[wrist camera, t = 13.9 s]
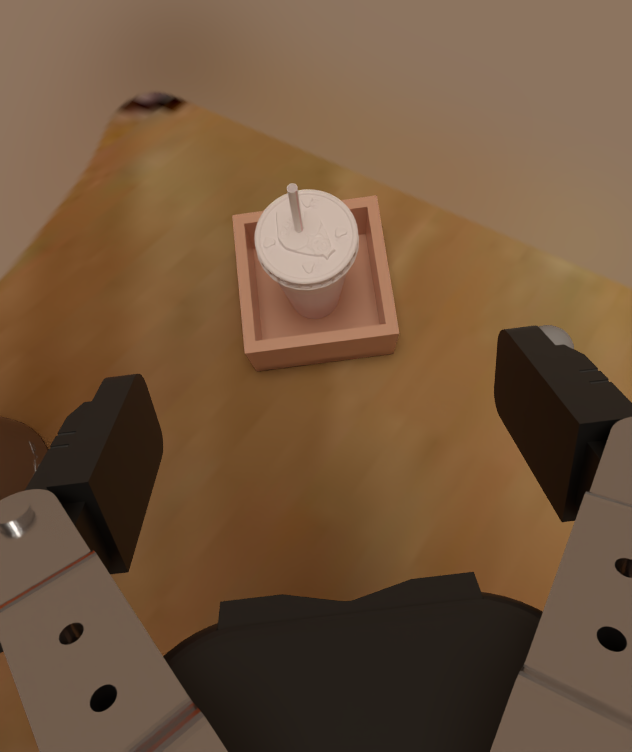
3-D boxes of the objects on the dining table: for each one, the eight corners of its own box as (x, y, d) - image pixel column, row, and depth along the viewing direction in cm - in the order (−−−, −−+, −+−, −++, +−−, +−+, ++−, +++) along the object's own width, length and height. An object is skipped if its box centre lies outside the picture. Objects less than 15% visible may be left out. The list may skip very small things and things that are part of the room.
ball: (518, 383, 40) (535, 371, 37) (509, 337, 41) (523, 321, 38) (567, 376, 40) (588, 364, 37) (556, 331, 41) (575, 315, 38)
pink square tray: (256, 371, 42) (244, 353, 37) (245, 247, 44) (232, 215, 39) (393, 353, 42) (399, 333, 37) (373, 229, 44) (376, 195, 39)
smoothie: (310, 243, 43) (294, 120, 29) (373, 291, 42) (386, 185, 28) (256, 301, 42) (214, 202, 28) (319, 352, 41) (306, 273, 27)
